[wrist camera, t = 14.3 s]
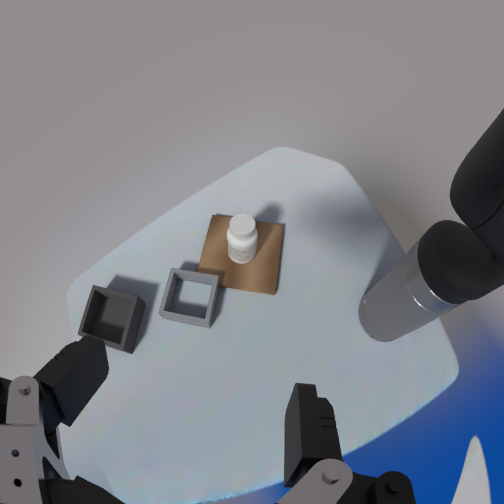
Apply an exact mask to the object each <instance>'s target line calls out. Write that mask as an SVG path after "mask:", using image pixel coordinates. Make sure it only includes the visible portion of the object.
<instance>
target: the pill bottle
mask: <svg viewBox="0 0 504 504" xmlns="http://www.w3.org/2000/svg"><path fill="white" fill-rule="evenodd" d="M255 225H256V224H255V220H254V218H253V217H252V216H250V215H248V214H245V213H240V214H237V215H235V216H233V217H232V218H231V220H230V227H229V228H228V230H227V248H228V255H229V257H230V259H231V260H232V261H234V262H236V263H239V264H245V263H248V262H250V261H252V260H253V259H254V257H255V255H256V249H257V239H258V232H257V229H256V228H255Z"/></svg>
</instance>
